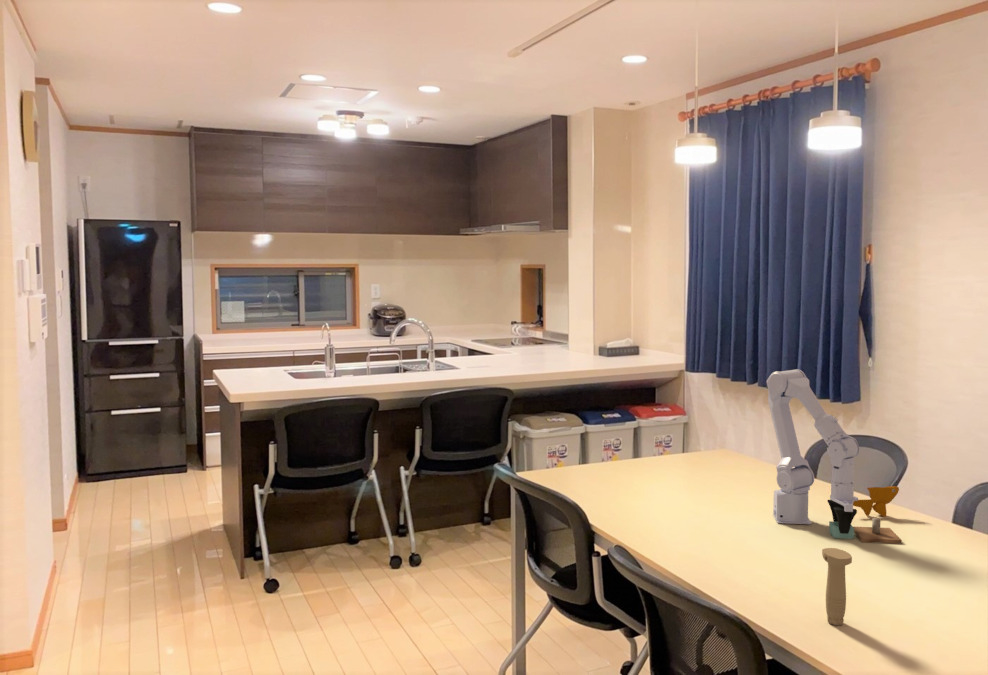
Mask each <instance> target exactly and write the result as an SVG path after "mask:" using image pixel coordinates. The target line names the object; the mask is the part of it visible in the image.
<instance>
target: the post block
mask: <svg viewBox="0 0 988 675" xmlns="http://www.w3.org/2000/svg"><path fill="white" fill-rule="evenodd" d="M871 520H872V521H871V522H872V525H871V526H853V527H854V535H855V534H856V535H855V536H856V537H857V538H858V540H860V542H861V543H872V542H882V543H881V544H897V543H902V541H903V540H902V539H901V538H900V536H898V535H897V534H896V533H895V531H894V530H892V529H891V528H890V527H881V521H882V520H881V518H880V517H872V519H871Z"/></svg>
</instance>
